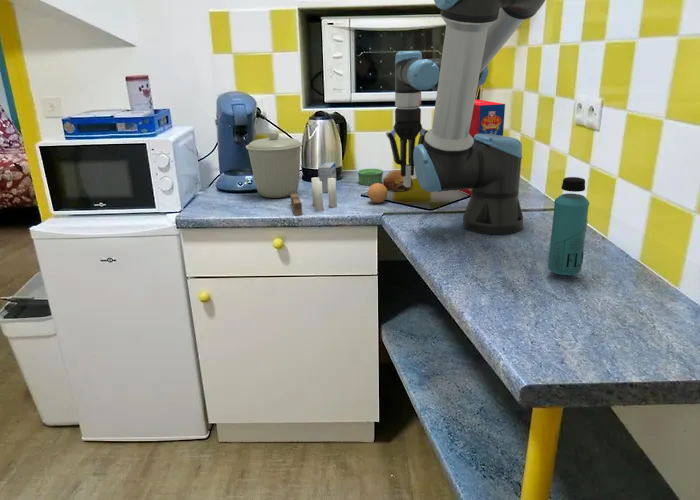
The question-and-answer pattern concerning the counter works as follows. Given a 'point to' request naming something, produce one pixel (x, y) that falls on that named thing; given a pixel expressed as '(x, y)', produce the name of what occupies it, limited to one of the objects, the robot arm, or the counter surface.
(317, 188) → the pin
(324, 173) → the medicine box
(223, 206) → the counter surface
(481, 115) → the pasta box
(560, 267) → the beverage bottle
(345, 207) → the counter surface
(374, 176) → the ramekin
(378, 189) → the ball
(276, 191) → the canister
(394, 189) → the bread roll
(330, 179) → the pin front
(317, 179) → the pin
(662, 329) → the counter surface
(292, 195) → the back rail
